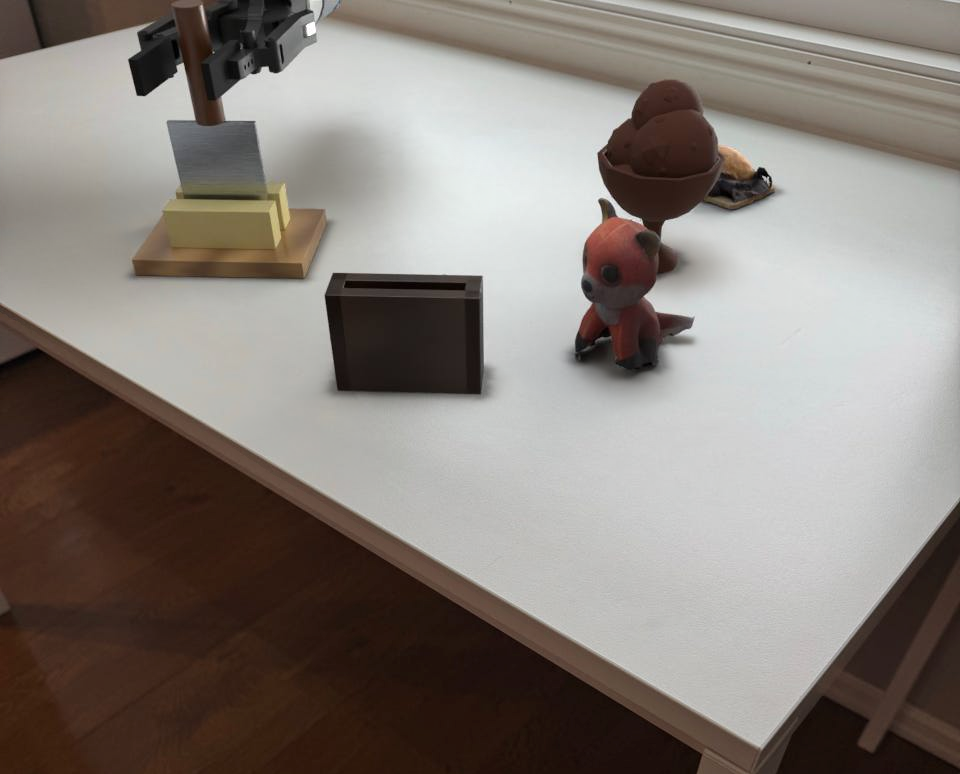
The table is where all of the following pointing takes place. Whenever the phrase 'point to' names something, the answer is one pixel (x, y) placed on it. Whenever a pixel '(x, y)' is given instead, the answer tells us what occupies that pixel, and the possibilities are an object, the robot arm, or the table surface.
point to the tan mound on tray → (738, 182)
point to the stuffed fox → (624, 292)
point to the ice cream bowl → (662, 159)
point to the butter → (227, 221)
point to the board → (236, 253)
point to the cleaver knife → (211, 127)
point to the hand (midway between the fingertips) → (172, 80)
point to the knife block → (406, 332)
